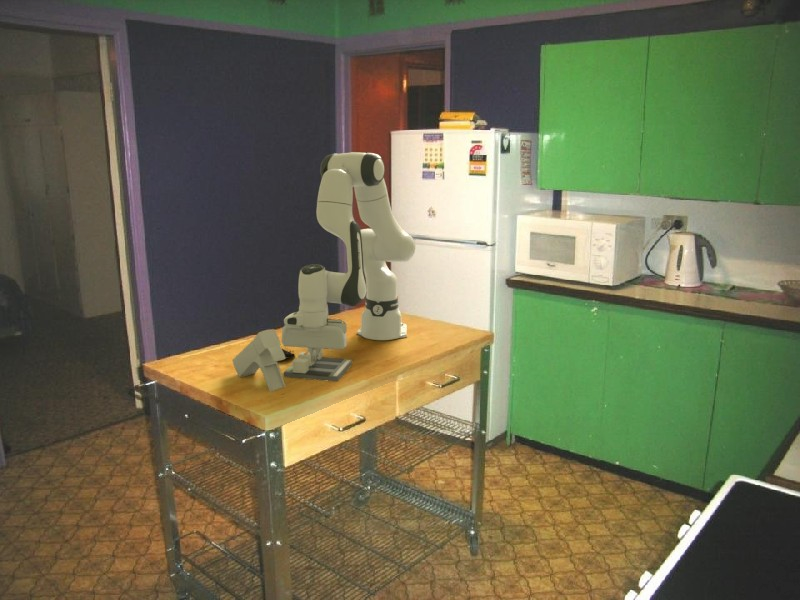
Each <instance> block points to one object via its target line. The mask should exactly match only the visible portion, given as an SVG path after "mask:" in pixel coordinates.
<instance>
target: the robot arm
mask: <svg viewBox="0 0 800 600" xmlns="http://www.w3.org/2000/svg"><path fill="white" fill-rule="evenodd" d="M319 167H320V168H319V169H320V170H319V172H320V173H319V174H320V175H321V181H320V185H319V188H318V194H317V200H316V219H317V222H318V224H319V226H321V227H322V229H324V230H325V232H328V233H330V234H332V235H334V236H335V237H338V238H339V239H341V241H343V243H344V245H345V248H346V263H347V272H346V273H345V272H338V271H337V272H334V271H329V270H326V268H325V266H324V265H321V264H316V263H313V264H308V265H305V266H303V267H302V268H301V269H300V270H299V275H298V284H297V285H298V293H297V294H298V298H299V307H298V311H295V312H292V313H290V314H289V315H287V316H286V317H285V318H284V319H283V323H284V326H283V327H282V330H281V343H282V344H281V345H283V347H293V348H295V347H296V348H305V349H307V348H308V351H309V353H310V354H311V356H312V361H318V354H319V352H320V351H321V349H322V350H326V349H327V350H336V351H337V350H340V351H342V350H344V349H345V348H346V347H347V346H348V341H347V340H348V339H347V331H348V330H347V329H348V327H347V326H348V324H347V323H346V322H345V321H344V320H342V319H339V318H338V319H335V318H329V307H328V303H331V304H340V305H345V306H349V307H356V306H358V305H359V304H361V302H363V301H364V305H365V306H364V307H365V309H364V310H363V311H362V312H361V316H360V329H358V330H357V331H356V335H358V336H361V337H363V338H365V339H367V340H373V341H389V340H395V339H400V338H407V337H408V333H407V332H408V325H407V324H406V323H403V322H402V313H401V312H402V311H400V309H399V295H398V278H397V275H396V274H395V273H394V272H393V271H391V270H390V269H389V267H388V265H387V262H388V263H405V262H408V261H410V260H411V259H412V258H413V256H414V254H415V252H416V251H415V250H416V243H415V240H414V237H412V235H411V234H409V233H407V232H406V231H405V230H404V229H403V228H402V227H401V226H400V224H399V222H398V221H397V219H396V217H395V216H394V213H393V210H392V208H391V203H390V197H389V194H388V187H387V185H386V181H385V178H384V177H385V175H386V167H385V163H384V160H383V159H382V157H381V156H380V155H379V154H377V153H373V152H367V153H366V152H359V151H358V152H357V151H355V152H354V151H351V152H344V153H343V152H342V153H331V154H328V155H326V156H324V158H323V159H322V161H321V163H320V166H319ZM353 188H354V191H353ZM353 193H354V194H355V199H356V204H357V209H358V215H359V218H360V220H361V221H362V222H363V223H364V224H365V225H366V226H368V227H369V228H363V229H361V227H360V225H359V223H358V222H356V221H355V218H354V215H353V199H354V198H353V197H354V194H353ZM314 349H315V351H317V352H316V354H315V352H314Z"/></svg>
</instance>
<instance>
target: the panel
mask: <svg viewBox="0 0 800 600" xmlns="http://www.w3.org/2000/svg"><path fill="white" fill-rule="evenodd" d="M352 365H353V359H345V358H341V357H340V358H338V357H326V356H322V358H321V359H320V360H318V361H314V364H313V365H312V366H309V370H308V371H307V372H306V373H294V372H293V363H292V364H291V365H290V366H289V367H288V368H286V369H285V371H283V378H291V379H302V378H305V380H314V379H316V380H315V381H325V380H328V381H327V382H336V381H337V382H339V380H341V379H342V377H343V376H344V374H345V373H346V372H347V371H348V370H349V367H350V368H351V366H352ZM342 375H343V376H342Z"/></svg>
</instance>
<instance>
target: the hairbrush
mask: <svg viewBox="0 0 800 600" xmlns="http://www.w3.org/2000/svg"><path fill="white" fill-rule="evenodd" d="M281 349H282V350H283V352H284V355H285V359H288V358H295V357H296V356H295V351H294V350H293V349H287V346H284V348H281Z"/></svg>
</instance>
